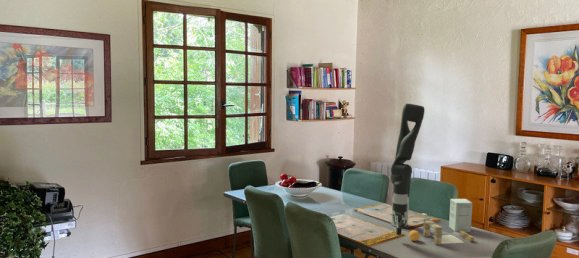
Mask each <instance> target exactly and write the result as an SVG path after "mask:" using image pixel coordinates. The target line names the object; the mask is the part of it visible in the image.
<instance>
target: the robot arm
mask: <svg viewBox="0 0 579 258" xmlns="http://www.w3.org/2000/svg"><path fill="white" fill-rule="evenodd" d="M424 117H425V106H423V105H418V104H413V103H405V104H404V105H403V107H402V112H401V120H400V121H401V122H400V128H399V135H398V139H397V142H396V143H397V144H396V150H395V157H394V160H393V163H392V165H391V168H390V173H391V174H390V182H391V184H392V185H393V191H392V206H391V207H392V208H391V225H392V226H394V227H396V229H395V230H396V232H395V233H396V235H397V236H401V235H402V230H403V229H404V228H406V226H407V225H409V204H410V191H411V180H412V174H413V168H412V166H411V165H410V164H406V163H405V162H408V161H410V160H412V157H413V153H414V151H415V146H416V145H415V144H416V141H417V138H418V136H419V132H420V130H421V127H422V123H423V120H424ZM409 122H412V123H415V124H414V125H413V128H411V130H410V127H409ZM407 227H408V226H407Z"/></svg>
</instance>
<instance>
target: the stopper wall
mask: <svg viewBox="0 0 579 258" xmlns="http://www.w3.org/2000/svg"><path fill="white" fill-rule="evenodd" d="M458 233H459V236H460V237H461V238H463V239H464V240H466V241H468V242H469V243H475V237H474V236H473V235H471V234H469V233H467V232H464V231H460V232H458Z"/></svg>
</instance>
